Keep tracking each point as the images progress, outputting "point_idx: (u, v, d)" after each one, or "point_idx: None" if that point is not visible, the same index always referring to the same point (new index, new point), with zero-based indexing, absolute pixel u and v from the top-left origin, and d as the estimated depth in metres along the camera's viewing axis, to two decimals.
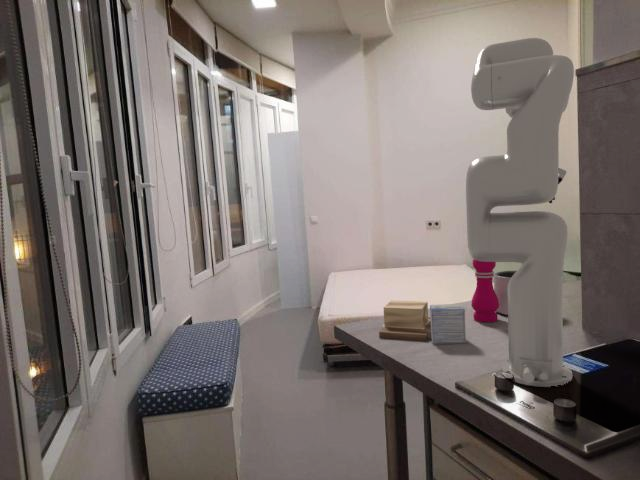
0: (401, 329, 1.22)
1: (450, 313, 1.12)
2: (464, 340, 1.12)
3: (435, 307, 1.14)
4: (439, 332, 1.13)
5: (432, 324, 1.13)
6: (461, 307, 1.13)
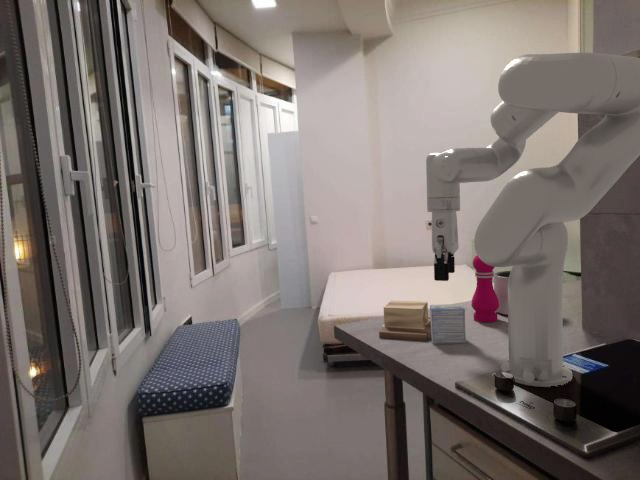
0: (401, 329, 1.22)
1: (450, 313, 1.12)
2: (464, 340, 1.12)
3: (435, 307, 1.14)
4: (439, 332, 1.13)
5: (432, 324, 1.13)
6: (461, 307, 1.13)
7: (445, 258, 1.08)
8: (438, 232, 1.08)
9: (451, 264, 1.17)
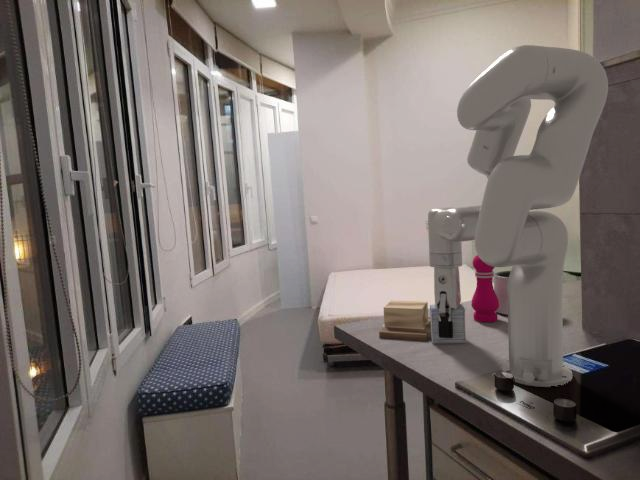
0: (401, 329, 1.22)
1: None
2: (464, 340, 1.12)
3: (435, 307, 1.14)
4: None
5: (432, 324, 1.13)
6: (461, 307, 1.13)
7: (449, 317, 1.10)
8: (441, 288, 1.09)
9: None
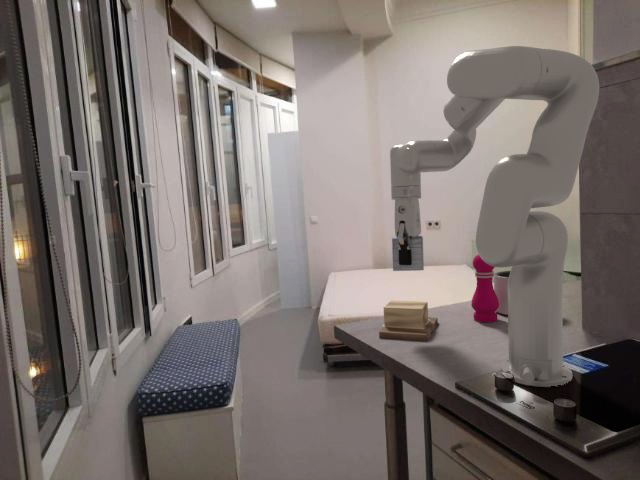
0: (401, 329, 1.22)
1: None
2: (422, 267, 1.21)
3: (396, 237, 1.23)
4: None
5: (393, 253, 1.22)
6: (420, 237, 1.22)
7: (408, 245, 1.19)
8: (400, 218, 1.18)
9: None
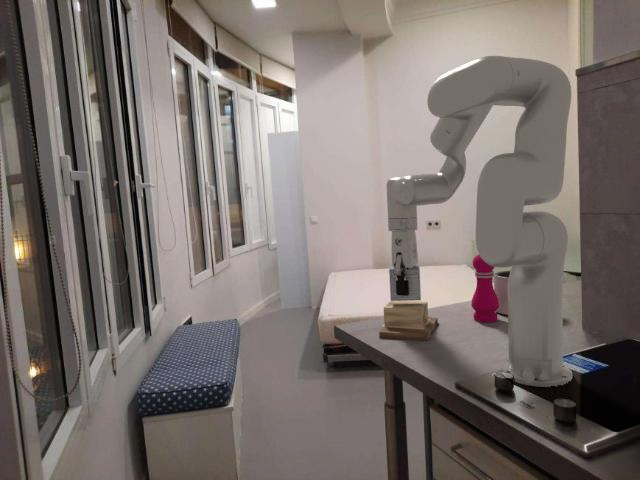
0: (401, 329, 1.22)
1: None
2: (419, 297, 1.23)
3: (393, 268, 1.25)
4: None
5: (390, 283, 1.24)
6: (416, 267, 1.24)
7: (405, 276, 1.21)
8: (397, 250, 1.21)
9: None
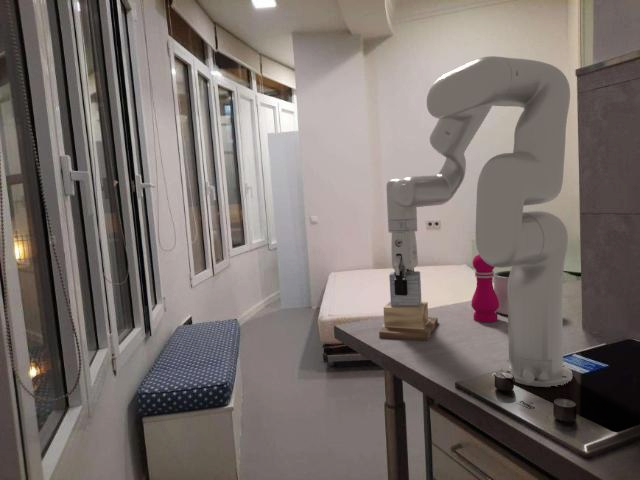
0: (401, 329, 1.22)
1: (406, 278, 1.23)
2: (419, 303, 1.23)
3: None
4: (397, 296, 1.24)
5: (390, 288, 1.25)
6: (417, 273, 1.24)
7: (403, 275, 1.20)
8: (397, 251, 1.21)
9: None
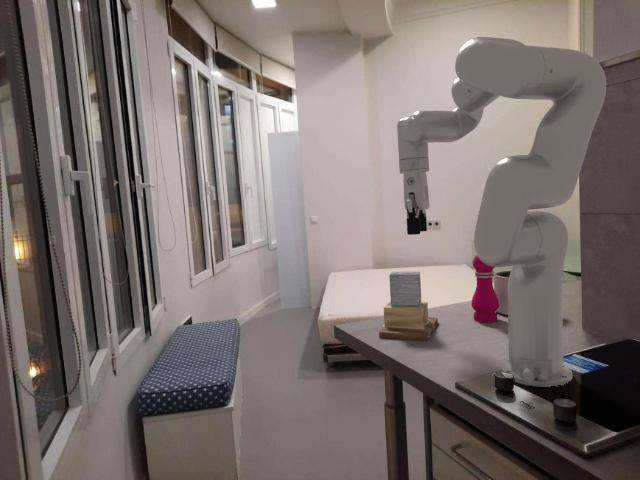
0: (401, 329, 1.22)
1: (406, 278, 1.23)
2: (419, 303, 1.23)
3: (394, 273, 1.25)
4: (397, 296, 1.24)
5: (390, 288, 1.25)
6: (417, 273, 1.24)
7: (416, 213, 1.17)
8: (409, 190, 1.18)
9: (423, 223, 1.27)
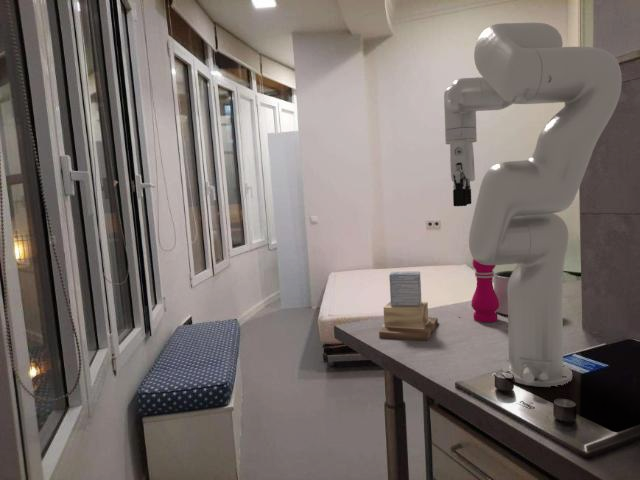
0: (401, 329, 1.22)
1: (406, 278, 1.23)
2: (419, 303, 1.23)
3: (394, 273, 1.25)
4: (397, 296, 1.24)
5: (390, 288, 1.25)
6: (417, 273, 1.24)
7: (464, 184, 1.14)
8: (457, 160, 1.15)
9: (468, 196, 1.24)
